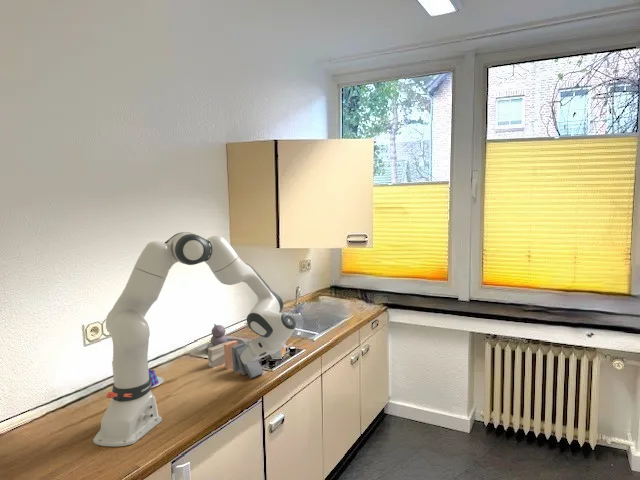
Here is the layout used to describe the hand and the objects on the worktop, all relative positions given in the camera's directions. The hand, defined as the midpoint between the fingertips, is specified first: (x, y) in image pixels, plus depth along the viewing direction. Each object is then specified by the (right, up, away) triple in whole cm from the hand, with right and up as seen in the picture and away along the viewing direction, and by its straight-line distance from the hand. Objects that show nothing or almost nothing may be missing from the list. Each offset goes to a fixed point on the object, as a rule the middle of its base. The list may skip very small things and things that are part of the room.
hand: (255, 359), depth 185 cm
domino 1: (-8, -7, +8) cm, 13 cm away
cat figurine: (-22, -4, +33) cm, 40 cm away
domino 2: (-3, -7, +4) cm, 9 cm away
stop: (-18, -6, +17) cm, 25 cm away
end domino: (-12, -6, +12) cm, 18 cm away
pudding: (-44, -10, -2) cm, 45 cm away
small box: (+7, -5, +22) cm, 23 cm away
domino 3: (+1, -7, 0) cm, 7 cm away
